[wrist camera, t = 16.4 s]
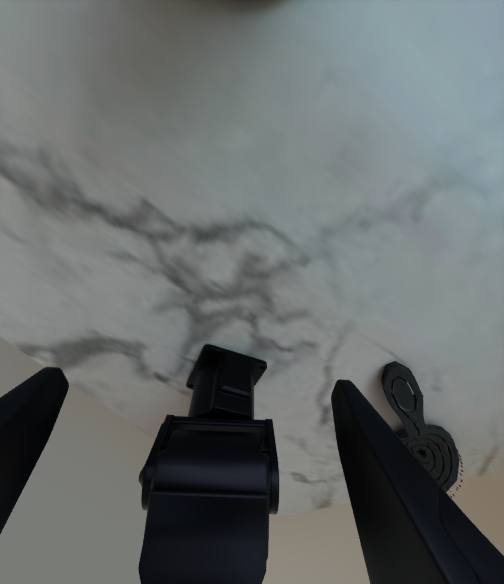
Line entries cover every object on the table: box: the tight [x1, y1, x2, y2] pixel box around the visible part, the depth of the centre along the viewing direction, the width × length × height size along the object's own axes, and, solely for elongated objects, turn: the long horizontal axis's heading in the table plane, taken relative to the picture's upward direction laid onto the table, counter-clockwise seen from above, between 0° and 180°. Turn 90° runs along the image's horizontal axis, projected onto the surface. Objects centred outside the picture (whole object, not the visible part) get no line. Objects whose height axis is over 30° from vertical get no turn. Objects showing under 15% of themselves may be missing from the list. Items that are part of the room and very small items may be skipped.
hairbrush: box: [381, 361, 463, 495], centre depth 32 cm, size 8×4×25 cm
